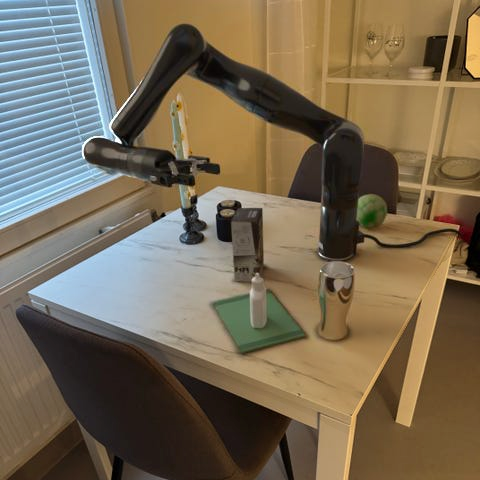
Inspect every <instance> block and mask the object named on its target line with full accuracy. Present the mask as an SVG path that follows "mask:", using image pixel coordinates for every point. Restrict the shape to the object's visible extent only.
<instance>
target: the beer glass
mask: <svg viewBox="0 0 480 480" xmlns="http://www.w3.org/2000/svg"><path fill="white" fill-rule="evenodd" d="M355 272H356V269H355V267H354V266H353V265H352V264H350V263H349V262H346V261H327V262H325V263H323V264H322V265H320V268H319V276H318V277H319V278H318V283H317V286H318V287H317V296H318V304H319V305H318V306H319V311H320V319H319V323H318V327H317V333H318V334H319V336H320V337H322V338H323V339H326V340H330V341H337V340H341V339H344V338H345V337H346V336H347V335H348V324H347V321H348V315H349V311H350V308H351V305H352V302H353V299H354V292H355V285H356V283H355V281H356V280H355V276H356V274H355Z"/></svg>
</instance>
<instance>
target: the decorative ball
mask: <svg viewBox="0 0 480 480" xmlns="http://www.w3.org/2000/svg"><path fill="white" fill-rule="evenodd" d="M387 215H388V205H387V202H386V201H385V200H384V198H382V197H381V196H380V195H377V194H373V193H368V194H364V195H362V196H359V199H358V209H357V219H356V220H357V221H359V228H362V229H365V230H372V229H373V230H374V229H375V228H378V227H379V226H381V225H383V223H384V221H385V220H386V218H387Z"/></svg>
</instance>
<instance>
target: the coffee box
mask: <svg viewBox="0 0 480 480" xmlns="http://www.w3.org/2000/svg"><path fill="white" fill-rule="evenodd" d="M263 214H264V213H263V207H238V208H237V209H236V211H235V213H234V215H233V217H232V219H231V221H230V226H231V242H232V243H231V245H232V260H233V261H232V262H233V276H234V277H233V278H234V279H233V280H234V281H235V282H249V283H252V279H253V278H254V277H255V274H256V273H259V275H260V276H262V275H261V274H262V272H263V269H264V266H265V261H264V260H265V257H264V256H265V255H264V253H265V251H264V219H263Z"/></svg>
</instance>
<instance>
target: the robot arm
mask: <svg viewBox="0 0 480 480" xmlns="http://www.w3.org/2000/svg"><path fill="white" fill-rule="evenodd" d="M184 75H185V76H187V77H190V78H192V79H195V80H197V81H200V82H201V83H204V84H206V85H208V86H210V87H211V88H214V89H216V90H217V91H219V92H221V93H222V94H223V95H225V96H226V97H227V98H228V99H230V100H231V101H232V102H234V103H235V104H237V105H238V106H239V107H240V108H242V109H244V110H245V111H247V112H248V113H250V114H251V115H253V116H255V117H257V118H258V119H259V120H262V121H264V122H265V123H268V124H269V125H272V126H274V127H277V128H280V129H283V130H287V131H290V132H294V133H297V134H300V135H302V136H304V137H306V138H308V139H310V140H311V141H312V142H314V143H316V144H317V145H319V146H320V147H321V148H322V157H321V159H322V160H321V195H320V197H321V199H320V218H319V234H318V235H319V236H318V242H317V246H318V249H317V255H318V256H319V257H320V258H321V259H323V260H325V261H327V262H331V261H342V262H346V261H348V260H350V259H351V258H353V257H354V256H357V250H358V249H357V248H358V245H359V244H364V243H365V238H366V239H370V240H372V241H374V242H375V243H376V245H378V246H379V247H382V248H392V249H394V248H395V249H396V248H397V249H399V248H407V247H408V248H409V247H412V246H413V247H414V246H417V245H420V244H422V243H423V242H424V241H425V240H426V239H427V238H428V237H430V236H433V235H438V234H442V233H443V234H444V233H454V234H455V235H458V236H463V233H462V232H461V231H460V230H458V229H456V228H442V229H437V230H433V231H429V232H427V233H425V234H424V235H423V236H422V237H421V238H420V239H419V240H416V241H412V242H407V243H401V244H400V243H399V244H390V243H384V242H381V241H380V240H379V239H378V238H377V237H376V236H373V235H371V234H368V233H364V232H363V231H361V230H360V226H359V221H357V220H356V219H357V209H358V199H359V198H360V189H361V188H360V187H361V177H362V168H363V160H364V150H365V149H364V148H365V135H364V132H363V130H362V128H361V127H360V126H359V125H358V124H356V123H355V122H353V121H351V120H348V119H346V118H344V117H342V116H339V115H337V114H335V113H333V112H331V111H329V110H327V109H324V108H323V107H321V106H319V105H317V104H316V103H314V102H313V101H312V100H311V99H309V98H308V97H306V96H305V95H303V94H302V93H300V92H299V91H297V90H296V89H294V88H292V87H291V86H290V85H288V84H287V83H285V82H283V81H282V80H280V79H278V78H276V77H275V76H273V75H272V74H270V73H268V72H267V71H265V70H262V69H259V68H257V67H254V66H251V65H248V64H245V63H242V62H239V61H237V60H235V59H232V58H231V57H229V56H227V55H226V54H224V53H223V52H221V51H220V50H219V49H217V48H216V47H214V46H213V45H212V44H210V42H208V41H207V40H206V39H205V37H204V35H203V34H202V33H201V31H200V29H198V27H196V26H195V25H192V24H190V23H179V24H176V25H175V26H174V27H172V28H171V30H170V31H169V32H168V33H167V35H166V37H165V39H164V41H163V43H162V45H161V47H160V49H159V50H158V52H157V53H156V56H155V58H154V60H153V62H152V63H151V65H150V67H149V68H148V70H147V72H146V73H145V74H144V76H143V78H142V79H141V81H140V83H139V84H138V85H137V87H136V88H135V90H134V91H133V93H132V94H131V95H130V97H129V98H128V99H127V100H126V102H125V103H124V104H123V105H122V107H121V108H120V109H119V111H118V112H117V114H115V116H114V117H113V119H112V120H111V121H110V123H109V130H110V131H111V133H112V134H113V135H114V136H115V137H116V138H115V140H113V139H110V138H107V137H105V136H93V137H90V138H88V139H87V140H86V141H85V142H84V144H83V145H82V149H81V152H82V154H81V155H82V157H83V159H84V161H85V162H86V163H87V164H88V165H90V167H93V168H95V169H97V170H99V171H100V172H102V173H104V174H106V175H109V176H115V175H118V174H120V175H122V176H126V177H130V178H135V179H138V180H141V181H144V182H148V183H151V185H156V186H161V187H163V188H169V189H170V188H172V187H173V186H177V187H178V186H180V185H182V186H186V187H191V188H193V187H195V186H196V176H197V175H198V174H203V173H204V174H210V175H215V176H218V175H221V165H220V164H219V163H216V162H211V158H210V157H207V156H206V157H205V156H200V155H199V156H198V155H193V154H192V155H191V154H189V155H187V158H183V157H178V158H177V157H176V155H175V154H174V153H173V152H172V151H170V150H169V149H163V148H156V147H151V146H136V145H135V144H136V142H137V141H138V139H139V138H140V137H141V136H142V135H143V133H144V132H145V131H146V129H147V128H148V127H149V125H150V124H151V123H152V121H153V119H154V118H155V117H156V114H157V113H158V110H159V109H160V107H161V105H162V103H163V101H164V99H165V97H166V96H167V95H168V93H169V92H170V90H171V89H172V87H174V85H175V84H176V83H177V82H178V81H179V80H180V79H181V78H182V77H183V76H184ZM191 169H193V171H192V170H191Z"/></svg>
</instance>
